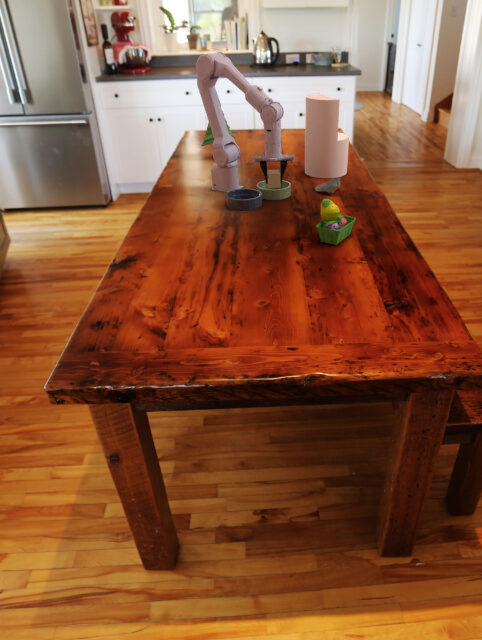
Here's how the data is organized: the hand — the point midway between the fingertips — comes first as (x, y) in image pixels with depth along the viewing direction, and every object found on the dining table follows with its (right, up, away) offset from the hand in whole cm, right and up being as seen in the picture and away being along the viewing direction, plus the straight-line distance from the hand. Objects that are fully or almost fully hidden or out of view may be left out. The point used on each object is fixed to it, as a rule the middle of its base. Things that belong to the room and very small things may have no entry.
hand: (273, 182), depth 173 cm
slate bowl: (-10, -10, -6) cm, 15 cm away
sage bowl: (0, -4, +3) cm, 5 cm away
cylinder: (+20, +13, +27) cm, 36 cm away
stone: (+19, -1, +6) cm, 20 cm away
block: (0, -1, +1) cm, 1 cm away
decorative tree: (-26, +26, +46) cm, 59 cm away
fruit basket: (+18, -26, -29) cm, 43 cm away
